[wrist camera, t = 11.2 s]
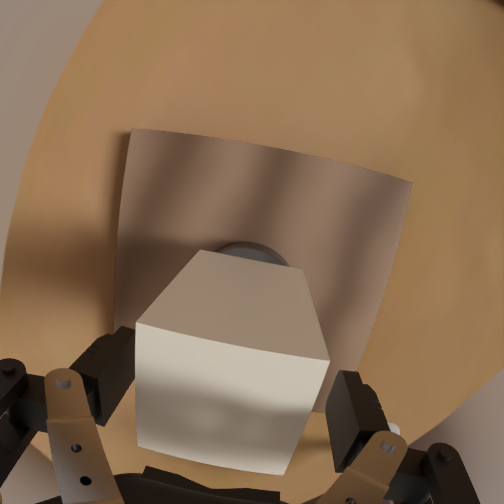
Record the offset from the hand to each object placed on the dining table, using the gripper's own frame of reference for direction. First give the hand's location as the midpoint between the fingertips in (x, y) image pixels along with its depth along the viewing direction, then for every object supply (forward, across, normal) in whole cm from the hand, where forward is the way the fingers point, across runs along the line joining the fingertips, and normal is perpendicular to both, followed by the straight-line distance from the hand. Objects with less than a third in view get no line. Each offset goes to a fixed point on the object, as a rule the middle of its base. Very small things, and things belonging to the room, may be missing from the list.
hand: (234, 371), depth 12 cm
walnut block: (+11, 0, 0) cm, 11 cm away
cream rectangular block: (+6, 0, 0) cm, 6 cm away
